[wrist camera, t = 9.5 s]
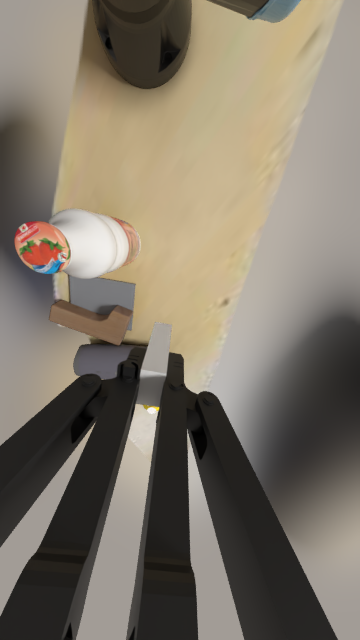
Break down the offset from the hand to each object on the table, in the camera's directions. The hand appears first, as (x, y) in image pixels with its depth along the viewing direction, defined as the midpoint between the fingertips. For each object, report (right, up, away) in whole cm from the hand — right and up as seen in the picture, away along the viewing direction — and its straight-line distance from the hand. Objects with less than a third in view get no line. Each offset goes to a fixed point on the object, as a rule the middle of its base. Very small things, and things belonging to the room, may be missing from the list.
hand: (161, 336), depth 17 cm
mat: (-18, +6, +33) cm, 38 cm away
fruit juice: (-12, +20, +27) cm, 35 cm away
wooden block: (-12, -1, +32) cm, 35 cm away
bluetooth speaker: (-13, -8, +39) cm, 42 cm away
